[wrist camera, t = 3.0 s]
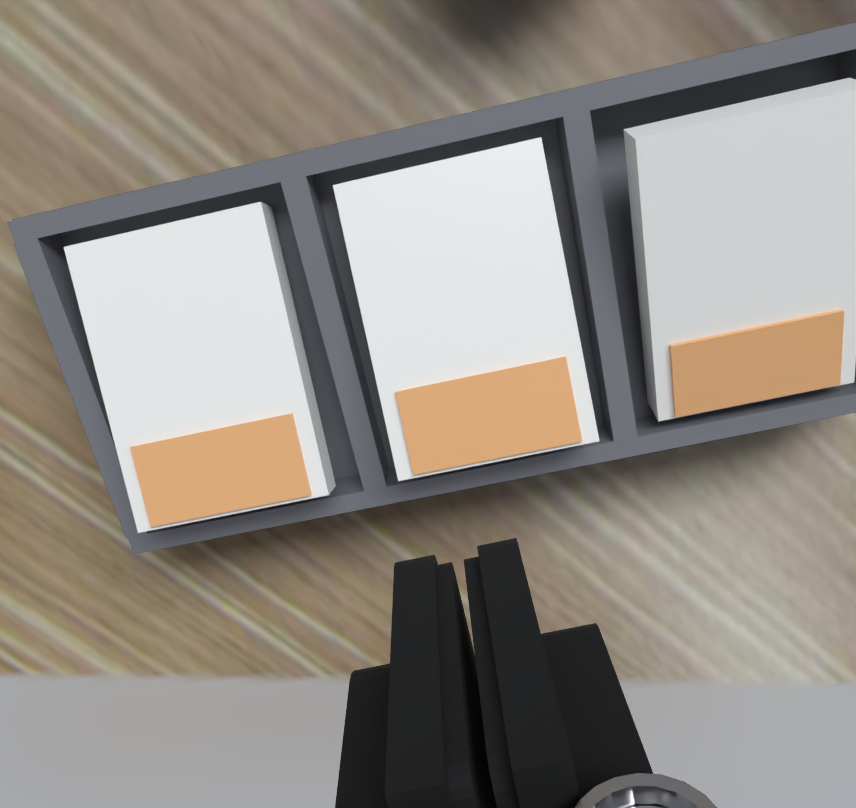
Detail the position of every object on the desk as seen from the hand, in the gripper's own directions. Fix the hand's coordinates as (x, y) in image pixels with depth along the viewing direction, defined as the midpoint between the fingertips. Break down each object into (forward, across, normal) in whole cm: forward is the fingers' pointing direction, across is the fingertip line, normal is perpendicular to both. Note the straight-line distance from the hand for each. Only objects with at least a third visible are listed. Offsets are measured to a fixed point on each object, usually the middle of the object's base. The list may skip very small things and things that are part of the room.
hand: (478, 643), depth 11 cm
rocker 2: (+10, -7, -2) cm, 12 cm away
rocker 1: (+10, +6, -2) cm, 12 cm away
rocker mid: (+10, -1, -2) cm, 10 cm away
